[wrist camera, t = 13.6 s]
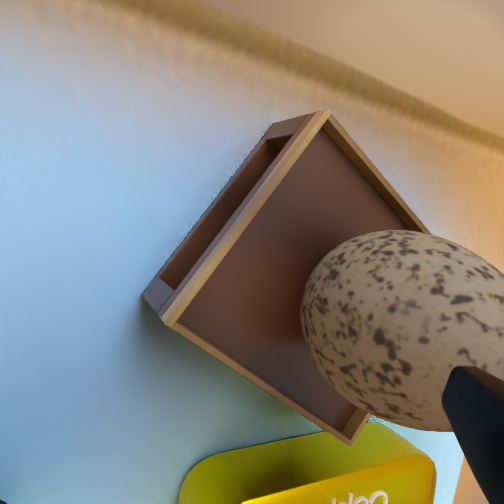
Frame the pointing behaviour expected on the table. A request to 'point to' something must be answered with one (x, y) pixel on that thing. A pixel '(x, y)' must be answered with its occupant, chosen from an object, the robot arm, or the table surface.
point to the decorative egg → (402, 322)
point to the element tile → (316, 472)
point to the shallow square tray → (277, 260)
